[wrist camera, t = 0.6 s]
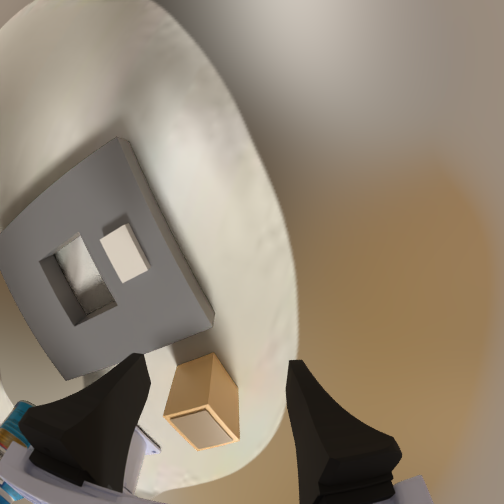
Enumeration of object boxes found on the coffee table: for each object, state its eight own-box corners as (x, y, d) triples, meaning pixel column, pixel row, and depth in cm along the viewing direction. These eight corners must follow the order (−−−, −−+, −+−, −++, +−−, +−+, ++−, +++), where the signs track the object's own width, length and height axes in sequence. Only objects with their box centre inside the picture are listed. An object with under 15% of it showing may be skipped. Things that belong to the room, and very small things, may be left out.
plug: (203, 400, 25) (197, 452, 19) (177, 365, 24) (162, 417, 17) (238, 388, 25) (239, 442, 18) (213, 352, 24) (208, 405, 17)
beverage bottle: (70, 438, 27) (26, 533, 8) (41, 436, 27) (-3, 515, 8) (36, 397, 25) (-29, 490, 6) (10, 398, 25) (-47, 474, 6)
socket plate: (75, 368, 24) (62, 385, 21) (4, 240, 20) (-15, 246, 17) (214, 313, 23) (211, 332, 20) (129, 141, 20) (112, 134, 16)
